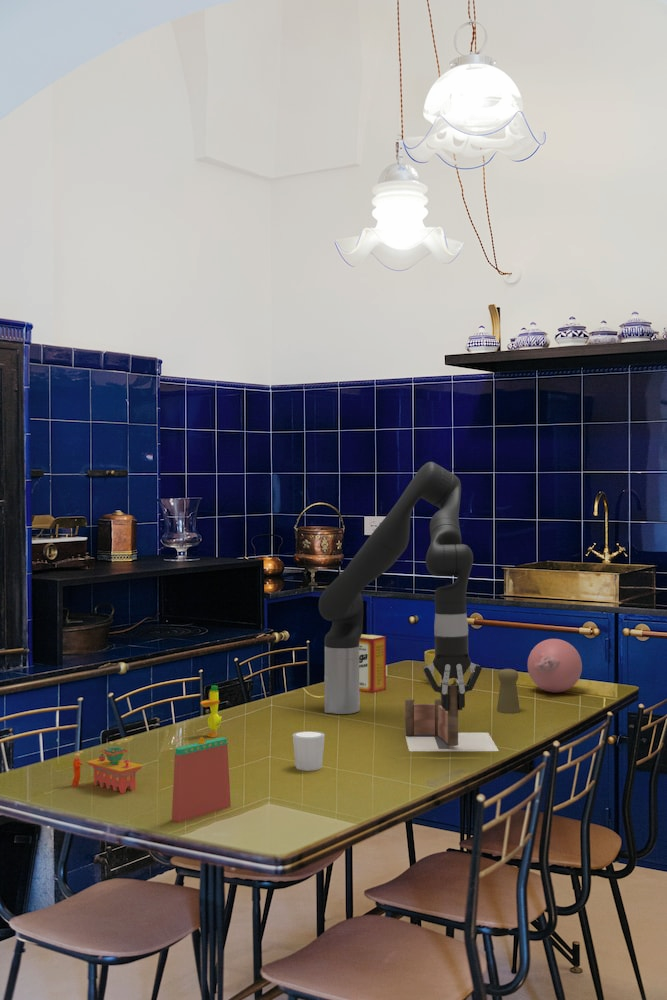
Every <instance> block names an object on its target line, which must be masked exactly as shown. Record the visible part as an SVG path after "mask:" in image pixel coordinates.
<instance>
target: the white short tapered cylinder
mask: <svg viewBox="0 0 667 1000" xmlns="http://www.w3.org/2000/svg"><path fill="white" fill-rule="evenodd" d="M325 736H326V734H325V733H323V732H321V731H315V730H313V731H312V730H309V731H308V730H305V731H304V730H303V731H297V732H294V733H292V741H293V753H294V762H295V769H297V770H299V771H307V772H308V771H309V772H310V771H317V770H321V769H322V768H323V759H324V748H325V739H326V738H325Z"/></svg>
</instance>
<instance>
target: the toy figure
mask: <svg viewBox="0 0 667 1000" xmlns="http://www.w3.org/2000/svg"><path fill="white" fill-rule="evenodd" d="M210 686H211V688H210V689H209V699H205V700H202V701H201V702H200V705H201V706H202V707H204V708H207V707H209V708H210V714H209V716H208V718H207V722H206V723H207V727H208V728H209V729H210V730H211V732H210V733H207V736H206V737H209V738H216V737H218V734H217V730H219V728H220V726H221V725H222V715H219V714H218V712H219V711H218V710H219V703H220V702H221V700H219V691H220V690H219V689H218V687H219V686H218V685H210Z"/></svg>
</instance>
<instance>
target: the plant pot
mask: <svg viewBox="0 0 667 1000" xmlns="http://www.w3.org/2000/svg"><path fill="white" fill-rule="evenodd" d="M434 658H435V649H428V650H426V651H424V663H425V664H426V667H427V666H428V665H430V664H432V663H433V660H434ZM432 676H433V678H434V680H435V681H436V683H437V685H438V686H440V687H441V675H440V673H439V672H438V671H437V669H436V668H434V674H433V675H432ZM454 683H455V678H451V679H449V683H448V686H449V685H453V684H454Z"/></svg>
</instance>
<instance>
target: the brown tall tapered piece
mask: <svg viewBox="0 0 667 1000" xmlns="http://www.w3.org/2000/svg"><path fill="white" fill-rule="evenodd" d="M497 676H498V680H499V682H500V683H499V692H498V699H497V706H496V711H497V712H498V713H501V714H502V713H503V714H518V713H520V711H521V710H520V703H519V702H520V701H519V694H518V687H517V685H518V684H517V681H518V680H519V674H518V671H517V670H515V669H512V668H504V669H500V671H498V675H497Z"/></svg>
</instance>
